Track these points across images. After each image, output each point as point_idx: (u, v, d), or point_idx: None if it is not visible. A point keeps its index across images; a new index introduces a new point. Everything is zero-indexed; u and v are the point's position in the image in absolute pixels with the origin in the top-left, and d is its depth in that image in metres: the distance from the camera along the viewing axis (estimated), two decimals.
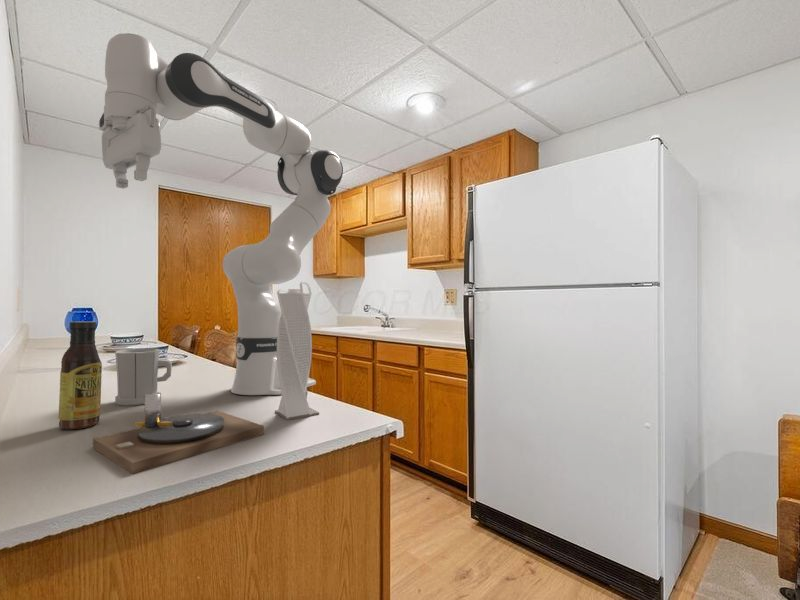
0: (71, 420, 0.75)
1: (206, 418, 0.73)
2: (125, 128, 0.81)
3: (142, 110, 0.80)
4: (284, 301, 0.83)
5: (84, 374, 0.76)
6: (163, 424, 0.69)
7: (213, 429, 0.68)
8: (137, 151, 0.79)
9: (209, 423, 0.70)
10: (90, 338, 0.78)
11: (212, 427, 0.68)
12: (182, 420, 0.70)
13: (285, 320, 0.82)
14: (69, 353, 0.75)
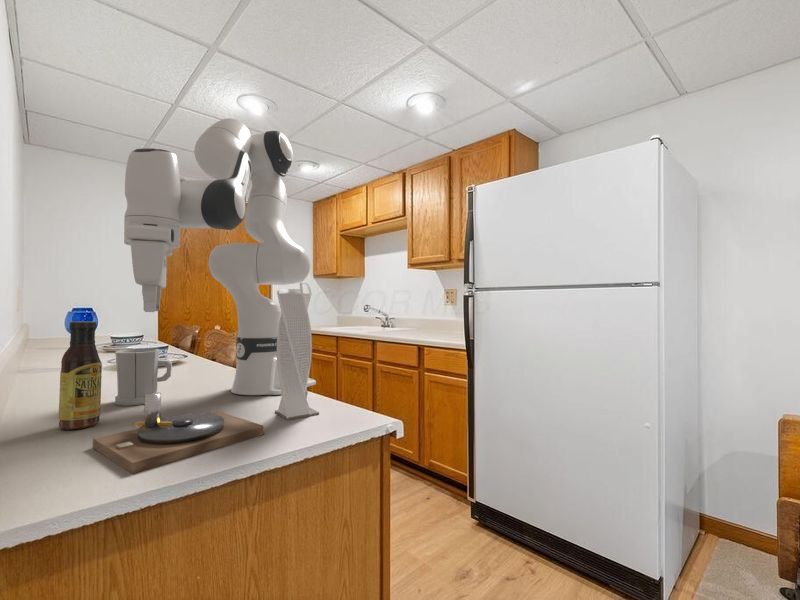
0: (71, 420, 0.75)
1: (206, 418, 0.73)
2: (164, 257, 0.78)
3: None
4: (284, 301, 0.83)
5: (84, 374, 0.76)
6: (163, 424, 0.69)
7: (213, 429, 0.68)
8: (164, 287, 0.82)
9: (209, 423, 0.70)
10: (90, 338, 0.78)
11: (212, 427, 0.68)
12: (182, 420, 0.70)
13: (285, 320, 0.82)
14: (69, 353, 0.75)
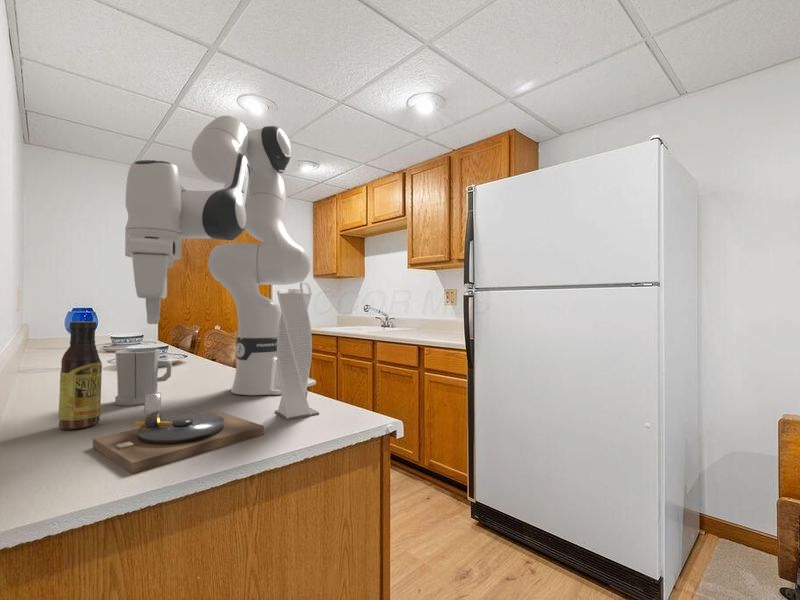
0: (71, 420, 0.75)
1: (206, 418, 0.73)
2: None
3: None
4: (284, 301, 0.83)
5: (84, 374, 0.76)
6: (163, 424, 0.69)
7: (213, 429, 0.68)
8: None
9: (209, 423, 0.70)
10: (90, 338, 0.78)
11: (212, 427, 0.68)
12: (182, 420, 0.70)
13: (285, 320, 0.82)
14: (69, 353, 0.75)
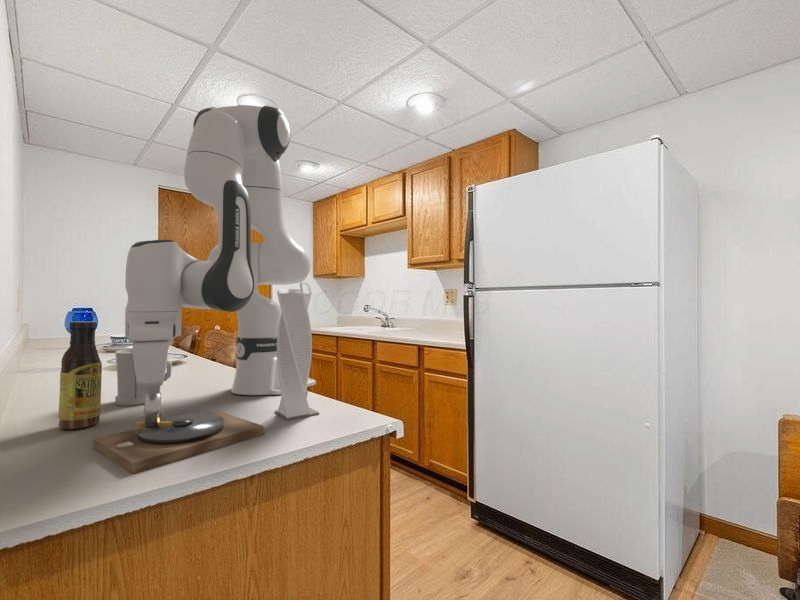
0: (71, 420, 0.75)
1: (206, 418, 0.73)
2: None
3: None
4: (284, 301, 0.83)
5: (84, 374, 0.76)
6: (163, 424, 0.69)
7: (213, 429, 0.68)
8: None
9: (209, 423, 0.70)
10: (90, 338, 0.78)
11: (212, 427, 0.68)
12: (182, 420, 0.70)
13: (285, 320, 0.82)
14: (69, 353, 0.75)
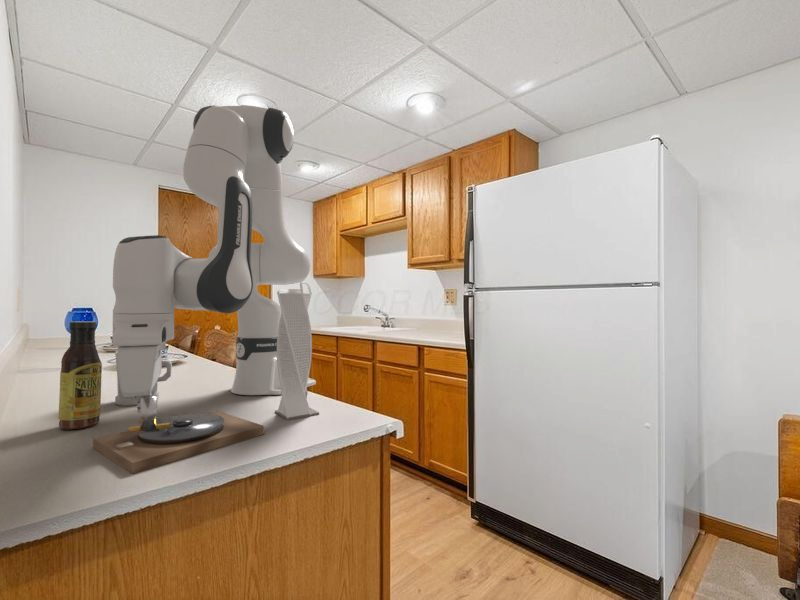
0: (71, 420, 0.75)
1: (199, 417, 0.74)
2: None
3: None
4: (284, 301, 0.83)
5: (84, 374, 0.76)
6: (162, 426, 0.68)
7: (221, 424, 0.70)
8: None
9: (210, 420, 0.72)
10: (90, 338, 0.78)
11: (219, 423, 0.71)
12: (182, 420, 0.70)
13: (285, 320, 0.82)
14: (69, 353, 0.75)
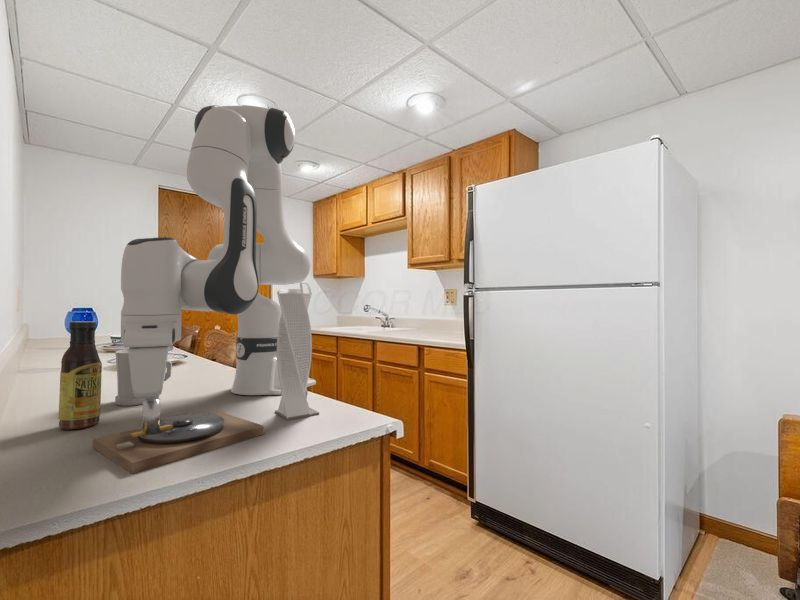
0: (71, 420, 0.75)
1: (188, 417, 0.74)
2: None
3: None
4: (284, 301, 0.83)
5: (84, 374, 0.76)
6: (166, 428, 0.67)
7: None
8: None
9: (206, 418, 0.74)
10: (90, 338, 0.78)
11: (220, 418, 0.73)
12: (181, 420, 0.70)
13: (285, 320, 0.82)
14: (69, 353, 0.75)
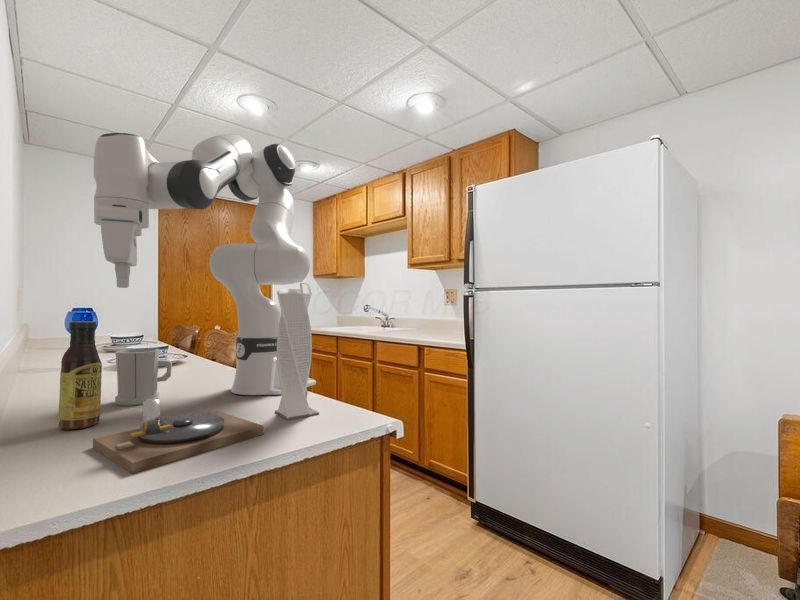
0: (71, 420, 0.75)
1: (188, 417, 0.74)
2: (134, 236, 0.83)
3: None
4: (284, 301, 0.83)
5: (84, 374, 0.76)
6: (166, 428, 0.67)
7: None
8: (134, 265, 0.87)
9: (206, 418, 0.74)
10: (90, 338, 0.78)
11: (220, 418, 0.73)
12: (181, 420, 0.70)
13: (285, 320, 0.82)
14: (69, 353, 0.75)
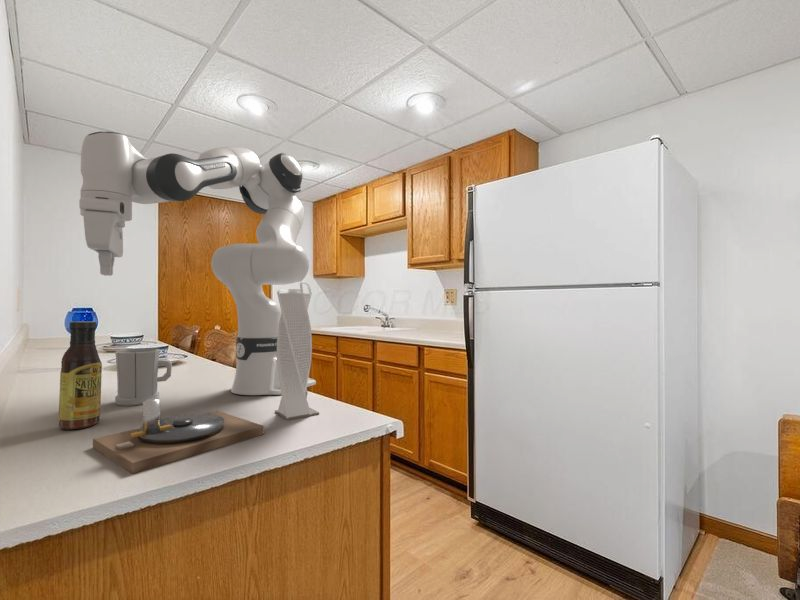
0: (71, 420, 0.75)
1: (188, 417, 0.74)
2: (118, 228, 0.89)
3: None
4: (284, 301, 0.83)
5: (84, 374, 0.76)
6: (166, 428, 0.67)
7: None
8: (120, 256, 0.93)
9: (206, 418, 0.74)
10: (90, 338, 0.78)
11: (220, 418, 0.73)
12: (181, 420, 0.70)
13: (285, 320, 0.82)
14: (69, 353, 0.75)
